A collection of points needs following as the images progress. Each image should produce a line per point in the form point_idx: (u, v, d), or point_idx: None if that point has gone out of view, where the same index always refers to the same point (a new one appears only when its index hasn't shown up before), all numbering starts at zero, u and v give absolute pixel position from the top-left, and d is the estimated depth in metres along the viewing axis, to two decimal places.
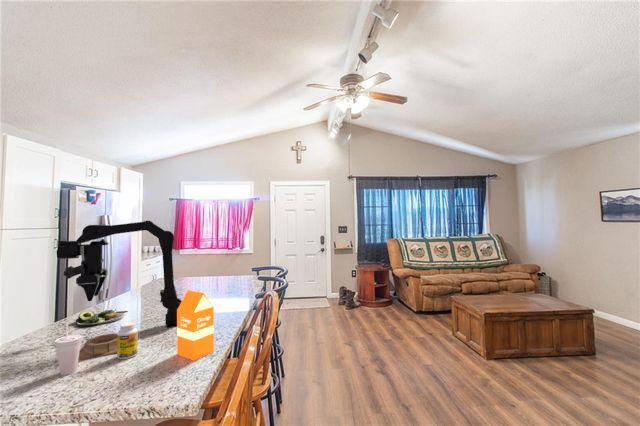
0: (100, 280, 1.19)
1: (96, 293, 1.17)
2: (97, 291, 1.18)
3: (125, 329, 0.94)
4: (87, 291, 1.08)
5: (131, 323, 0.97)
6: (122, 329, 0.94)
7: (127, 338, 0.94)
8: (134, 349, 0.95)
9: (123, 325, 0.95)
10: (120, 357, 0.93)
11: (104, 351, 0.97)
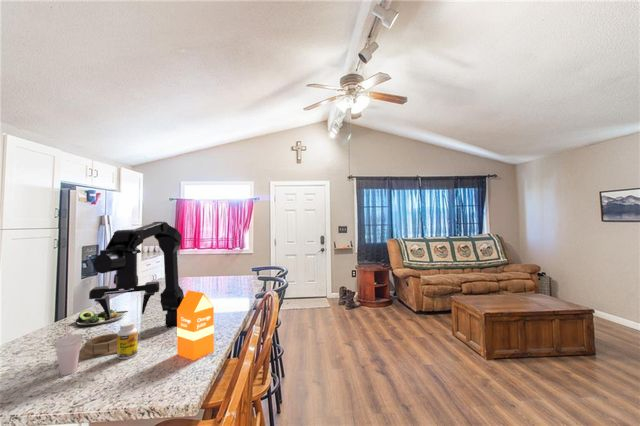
0: None
1: (142, 311, 0.98)
2: (142, 309, 0.98)
3: (125, 329, 0.94)
4: None
5: (131, 323, 0.97)
6: (122, 329, 0.94)
7: (127, 338, 0.94)
8: (134, 349, 0.95)
9: (123, 325, 0.95)
10: (120, 357, 0.93)
11: (104, 351, 0.97)
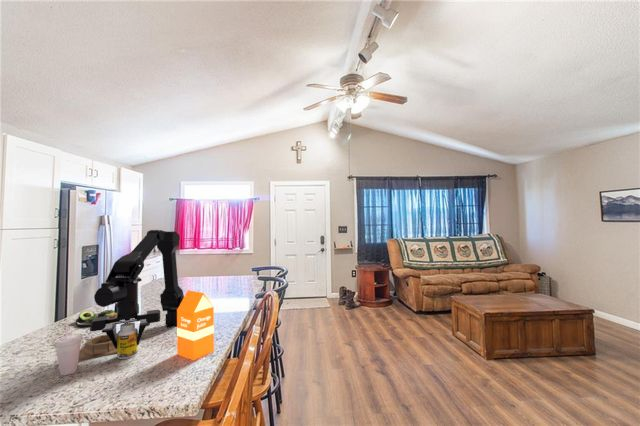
0: (139, 327, 0.96)
1: (137, 342, 0.97)
2: (137, 340, 0.97)
3: (125, 329, 0.94)
4: None
5: (131, 323, 0.97)
6: (122, 329, 0.94)
7: (127, 338, 0.94)
8: (134, 349, 0.95)
9: (123, 325, 0.95)
10: (120, 357, 0.93)
11: (104, 351, 0.97)
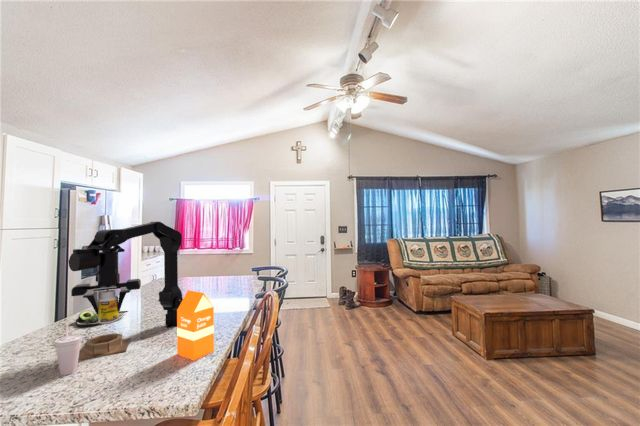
0: None
1: (118, 308, 1.02)
2: (118, 306, 1.01)
3: (106, 295, 0.99)
4: None
5: (112, 290, 1.02)
6: (103, 295, 0.99)
7: (107, 304, 0.98)
8: (115, 314, 1.00)
9: (104, 292, 1.00)
10: (101, 322, 0.98)
11: (104, 351, 0.97)
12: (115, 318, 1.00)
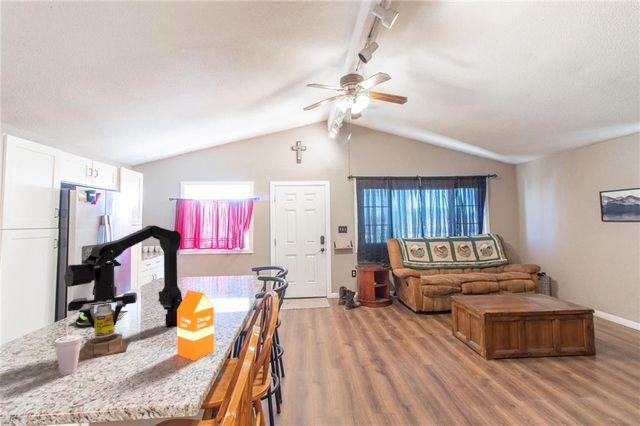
0: None
1: (114, 322, 1.03)
2: (114, 320, 1.02)
3: (102, 310, 1.00)
4: None
5: (108, 304, 1.03)
6: (99, 310, 1.00)
7: (103, 318, 0.99)
8: (111, 328, 1.01)
9: (100, 306, 1.01)
10: (97, 336, 0.99)
11: (104, 351, 0.97)
12: (111, 332, 1.01)
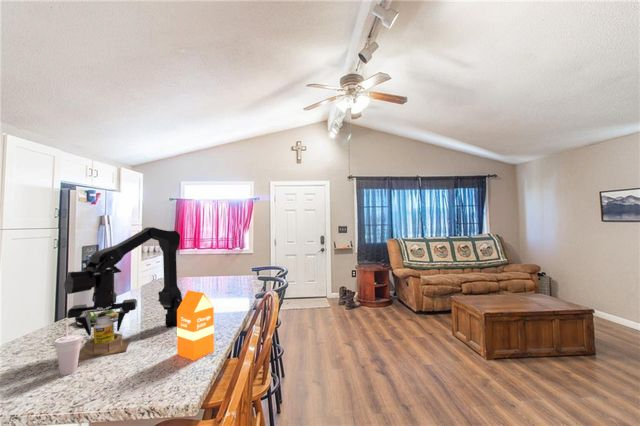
0: None
1: (117, 328, 1.03)
2: (117, 326, 1.03)
3: (100, 322, 1.00)
4: None
5: (107, 316, 1.03)
6: (98, 322, 1.00)
7: (102, 330, 0.99)
8: (110, 340, 1.01)
9: (99, 318, 1.00)
10: None
11: (104, 351, 0.97)
12: None
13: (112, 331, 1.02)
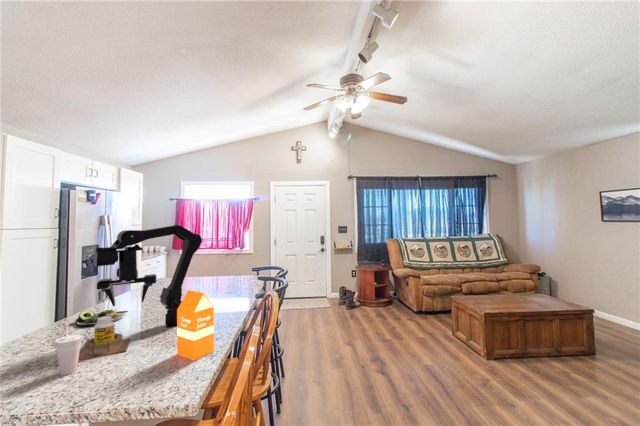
0: (143, 287, 1.14)
1: None
2: None
3: (102, 322, 1.00)
4: None
5: (108, 316, 1.03)
6: (99, 322, 1.00)
7: (103, 330, 0.99)
8: None
9: (100, 318, 1.01)
10: None
11: (104, 351, 0.97)
12: None
13: (113, 331, 1.02)
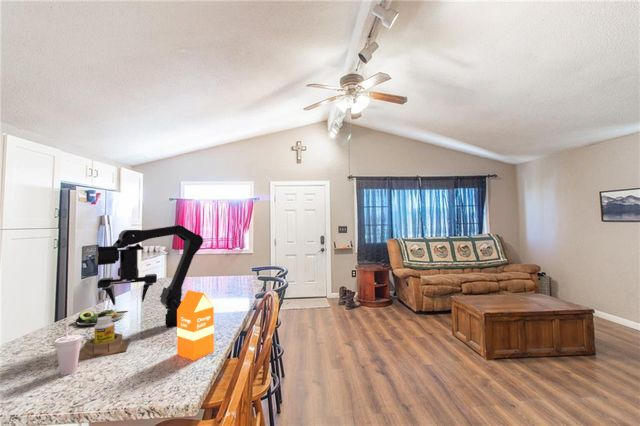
0: None
1: (142, 299, 1.15)
2: (142, 297, 1.15)
3: (102, 322, 1.00)
4: None
5: (108, 316, 1.03)
6: (99, 322, 1.00)
7: (103, 331, 0.99)
8: None
9: (100, 318, 1.00)
10: None
11: (104, 351, 0.97)
12: None
13: (113, 332, 1.02)
